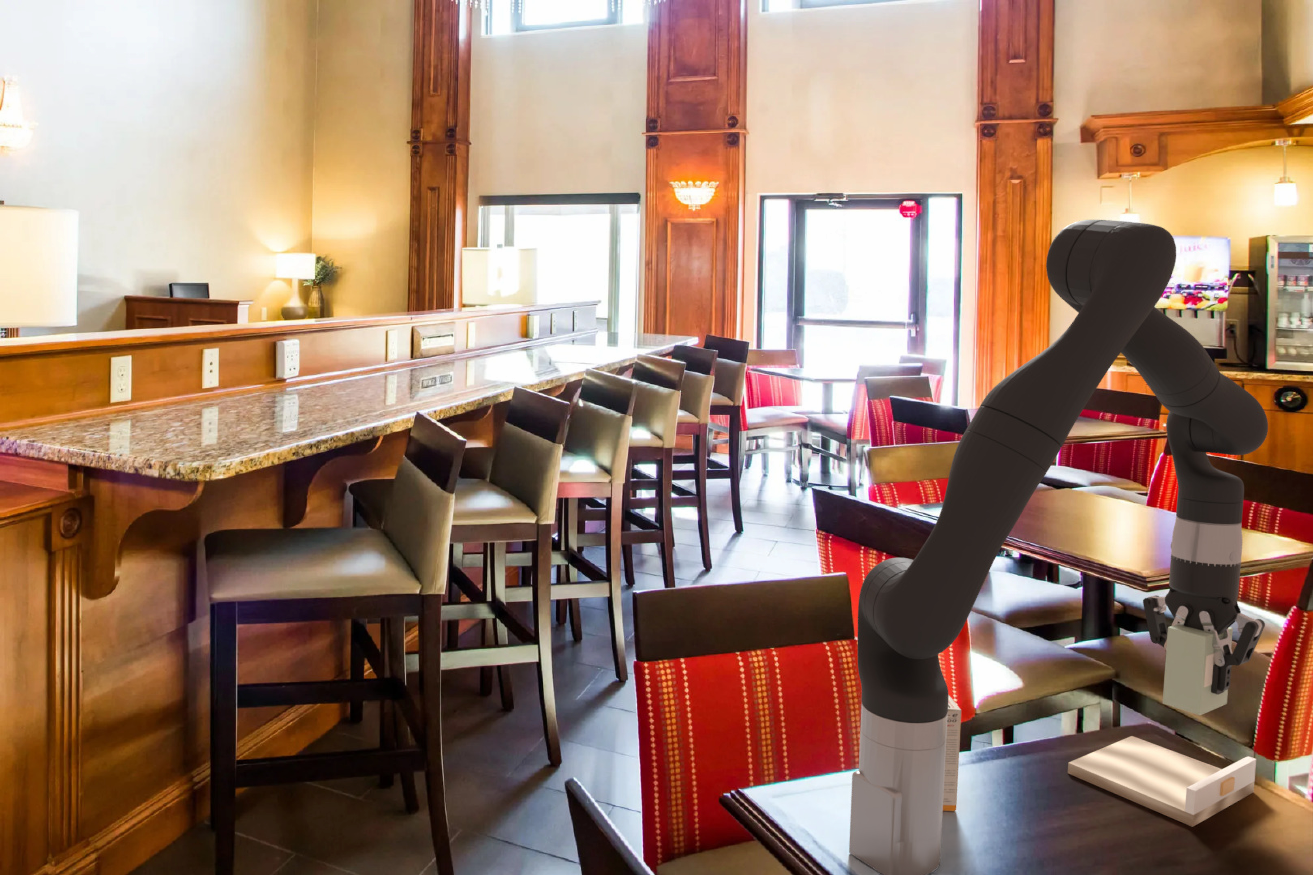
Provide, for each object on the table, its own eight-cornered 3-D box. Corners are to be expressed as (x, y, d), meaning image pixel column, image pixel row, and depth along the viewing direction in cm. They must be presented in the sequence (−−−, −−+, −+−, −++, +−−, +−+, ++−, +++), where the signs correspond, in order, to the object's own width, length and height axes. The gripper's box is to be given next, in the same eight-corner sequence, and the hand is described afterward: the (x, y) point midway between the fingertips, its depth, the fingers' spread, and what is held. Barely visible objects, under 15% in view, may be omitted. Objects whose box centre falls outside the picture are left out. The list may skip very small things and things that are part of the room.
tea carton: (1227, 703, 114) (1233, 627, 113) (1200, 715, 110) (1206, 636, 109) (1189, 692, 117) (1195, 618, 116) (1162, 703, 113) (1167, 627, 113)
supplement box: (958, 812, 109) (963, 709, 108) (919, 811, 109) (924, 708, 108) (938, 780, 117) (943, 684, 116) (901, 779, 117) (906, 683, 116)
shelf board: (1195, 827, 106) (1198, 792, 106) (1067, 773, 120) (1069, 741, 119) (1256, 793, 115) (1258, 759, 115) (1131, 745, 129) (1133, 715, 128)
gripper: (1283, 563, 108) (1272, 698, 109) (1162, 541, 120) (1154, 664, 121) (1255, 570, 104) (1243, 711, 105) (1133, 547, 115) (1124, 674, 117)
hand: (1195, 685), depth 113 cm, fingers closed on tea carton, 4 cm apart
